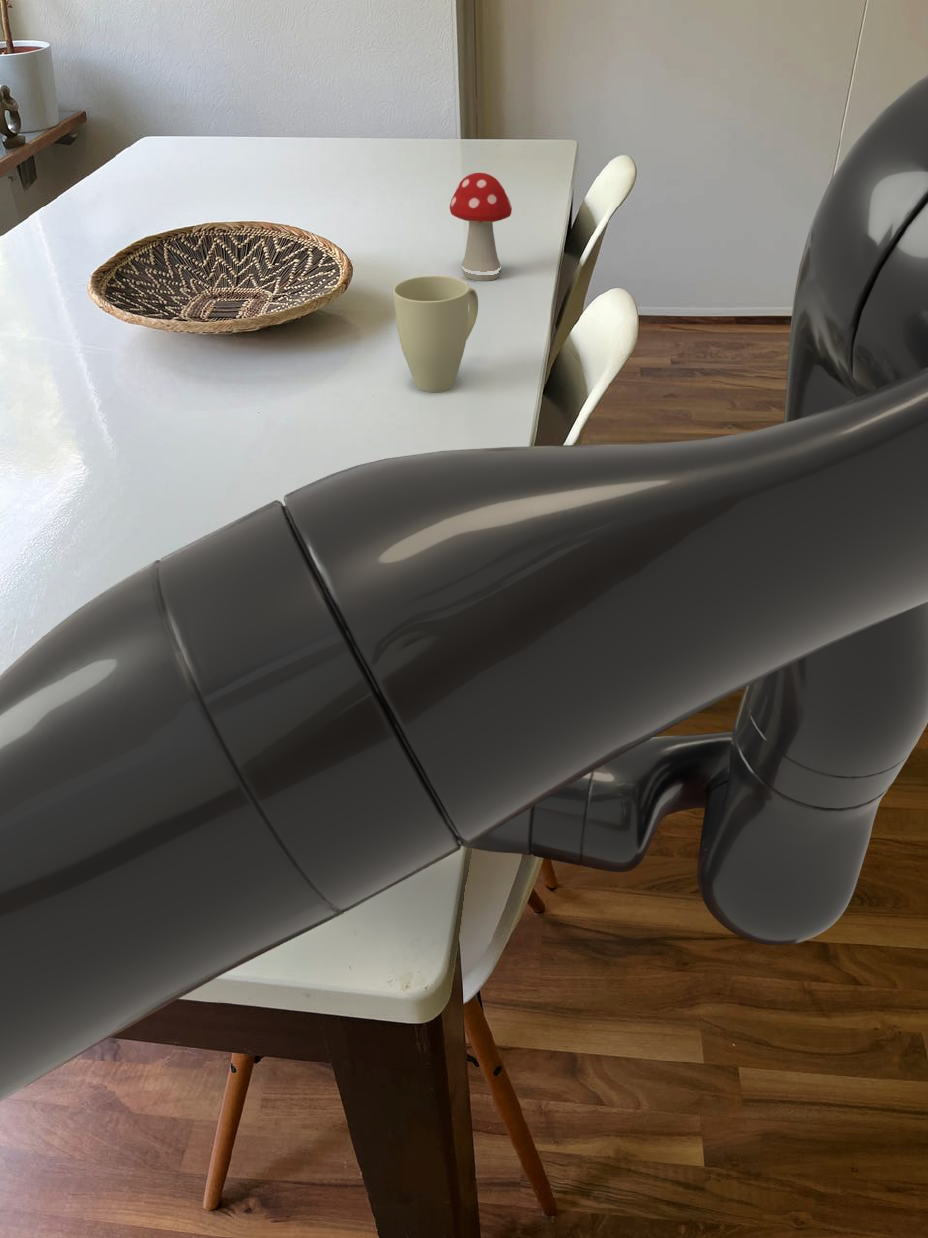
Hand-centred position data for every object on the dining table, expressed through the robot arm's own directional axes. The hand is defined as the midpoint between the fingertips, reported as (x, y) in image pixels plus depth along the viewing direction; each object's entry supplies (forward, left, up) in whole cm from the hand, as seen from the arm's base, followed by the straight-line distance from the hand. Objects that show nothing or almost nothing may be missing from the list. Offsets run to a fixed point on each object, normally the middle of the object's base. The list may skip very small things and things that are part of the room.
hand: (183, 720), depth 58 cm
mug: (+69, +30, -12) cm, 76 cm away
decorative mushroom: (+105, +47, -12) cm, 116 cm away
